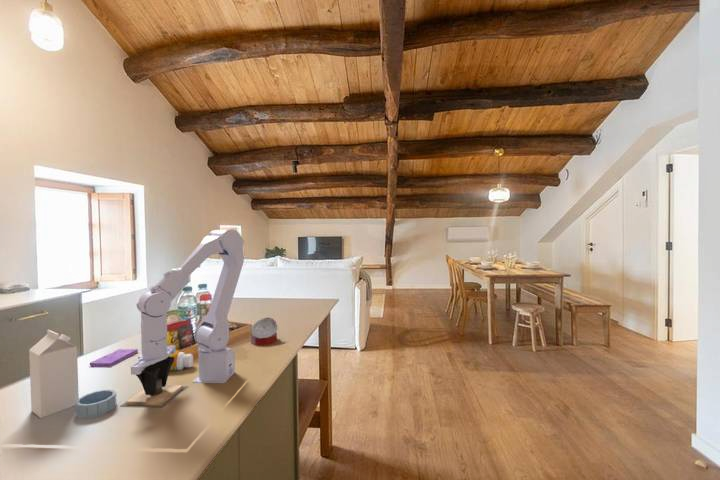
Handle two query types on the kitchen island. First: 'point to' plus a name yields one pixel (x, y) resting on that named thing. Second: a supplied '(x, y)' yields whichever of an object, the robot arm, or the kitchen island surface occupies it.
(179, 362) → the supplement bottle
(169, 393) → the oak lid
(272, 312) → the kitchen island surface
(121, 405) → the rubber mat
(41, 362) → the milk carton
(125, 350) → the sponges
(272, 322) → the canned food
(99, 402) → the ceramic bowl
